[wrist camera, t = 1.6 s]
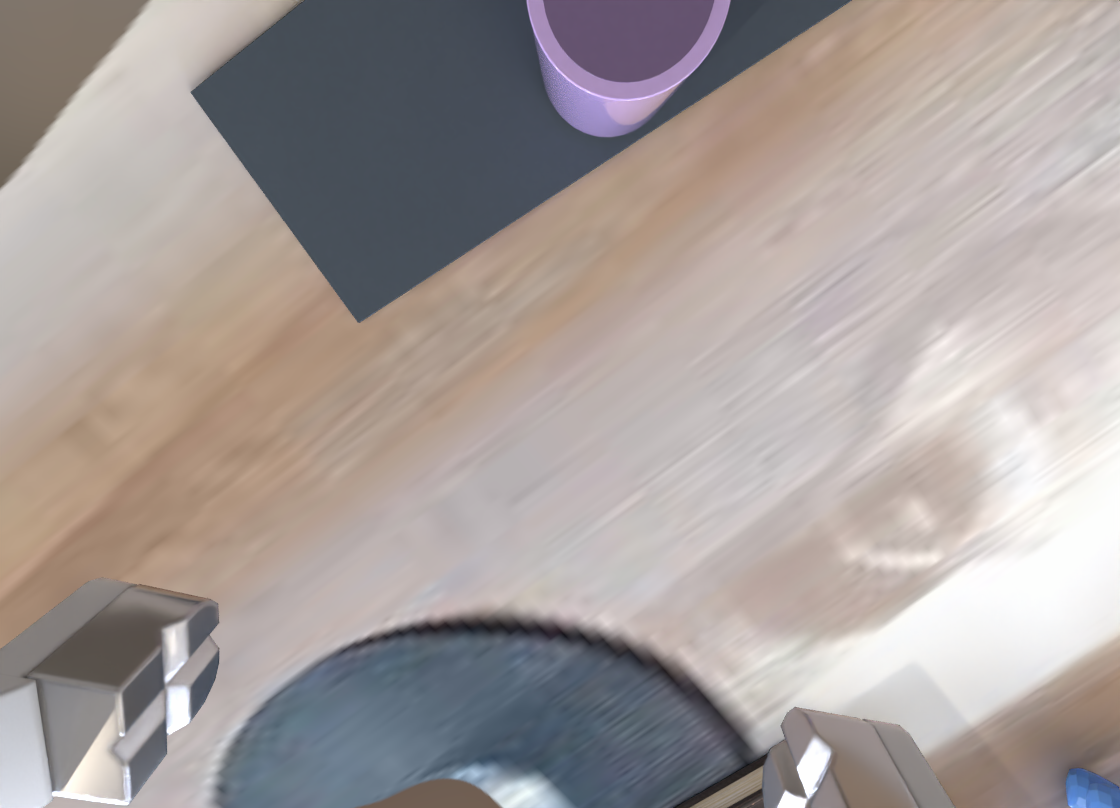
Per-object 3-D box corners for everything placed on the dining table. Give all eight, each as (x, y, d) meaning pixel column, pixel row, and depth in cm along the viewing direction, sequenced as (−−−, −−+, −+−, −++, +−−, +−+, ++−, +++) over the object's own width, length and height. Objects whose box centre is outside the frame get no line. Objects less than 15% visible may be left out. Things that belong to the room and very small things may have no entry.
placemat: (790, -387, 22) (793, -395, 21) (912, -40, 25) (916, -42, 25) (193, 93, 27) (189, 92, 27) (360, 322, 31) (358, 323, 30)
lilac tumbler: (634, -46, 25) (672, -203, 15) (698, 89, 27) (769, 23, 17) (516, 40, 26) (484, -57, 17) (584, 164, 28) (591, 140, 18)
